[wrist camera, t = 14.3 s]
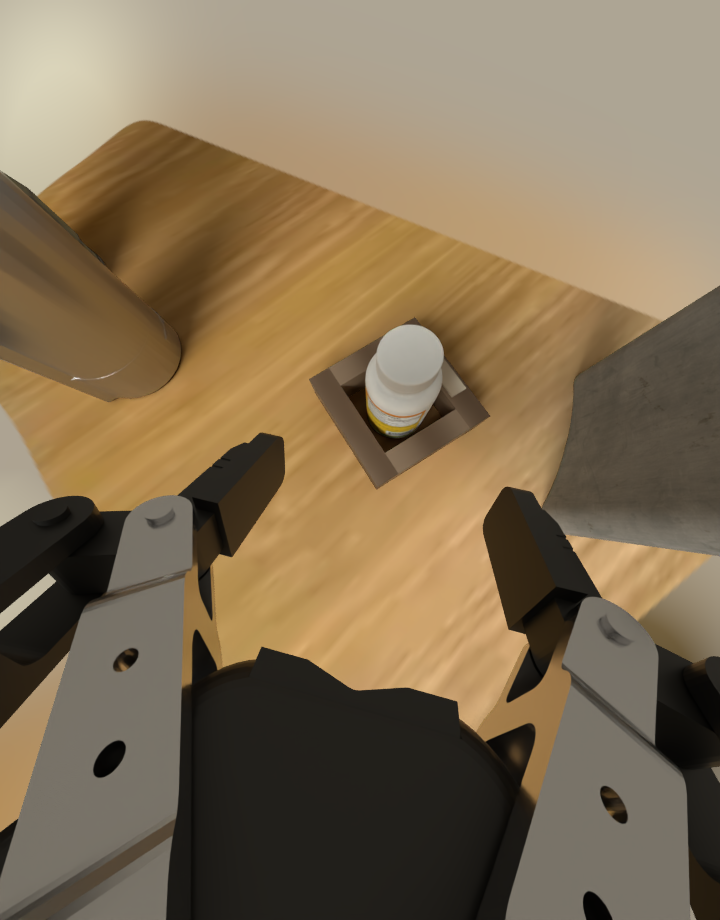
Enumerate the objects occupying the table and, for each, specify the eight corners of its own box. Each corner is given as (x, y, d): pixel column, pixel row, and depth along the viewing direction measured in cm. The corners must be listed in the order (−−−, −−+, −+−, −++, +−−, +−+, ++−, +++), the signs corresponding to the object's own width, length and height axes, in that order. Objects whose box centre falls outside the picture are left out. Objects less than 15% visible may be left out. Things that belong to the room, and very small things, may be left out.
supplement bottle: (393, 375, 25) (407, 296, 16) (434, 411, 25) (475, 351, 15) (355, 413, 25) (345, 355, 15) (396, 451, 24) (413, 414, 15)
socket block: (376, 489, 23) (377, 486, 20) (316, 394, 25) (308, 378, 22) (475, 427, 24) (491, 415, 21) (409, 338, 26) (415, 315, 23)
